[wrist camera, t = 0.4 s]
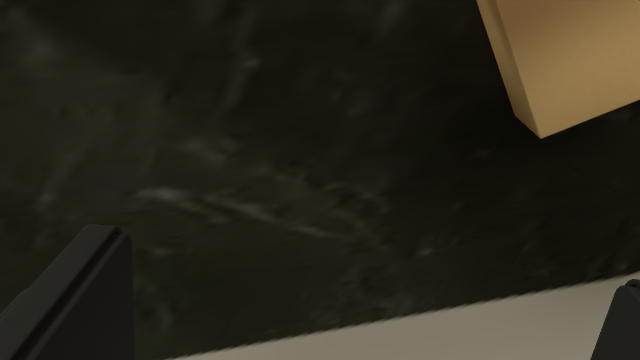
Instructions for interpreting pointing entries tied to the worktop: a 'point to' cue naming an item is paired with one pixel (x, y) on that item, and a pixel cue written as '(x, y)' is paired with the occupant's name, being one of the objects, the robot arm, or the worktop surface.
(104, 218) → the worktop surface
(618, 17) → the wooden block
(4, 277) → the worktop surface
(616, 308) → the robot arm
